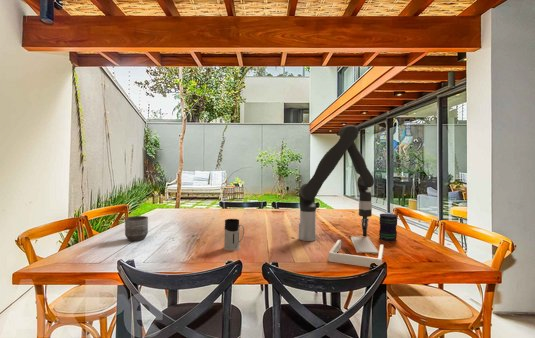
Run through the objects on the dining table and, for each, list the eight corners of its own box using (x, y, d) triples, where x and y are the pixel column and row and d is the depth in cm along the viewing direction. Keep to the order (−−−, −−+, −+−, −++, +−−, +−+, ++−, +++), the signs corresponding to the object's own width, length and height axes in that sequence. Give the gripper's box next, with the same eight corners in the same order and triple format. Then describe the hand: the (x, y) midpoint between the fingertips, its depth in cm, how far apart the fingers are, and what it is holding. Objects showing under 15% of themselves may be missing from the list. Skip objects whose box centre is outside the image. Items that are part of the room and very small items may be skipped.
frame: (328, 261, 138) (328, 252, 138) (338, 247, 161) (338, 239, 161) (381, 268, 129) (381, 259, 129) (383, 252, 152) (383, 244, 152)
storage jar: (393, 237, 183) (394, 213, 182) (399, 242, 173) (399, 216, 172) (377, 237, 184) (377, 213, 183) (381, 241, 174) (382, 216, 173)
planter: (120, 241, 168) (120, 218, 168) (136, 236, 180) (136, 215, 179) (136, 243, 164) (136, 220, 164) (152, 238, 175) (152, 216, 175)
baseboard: (354, 253, 151) (378, 255, 149) (354, 248, 151) (378, 249, 149) (348, 238, 182) (368, 239, 179) (348, 233, 181) (368, 234, 179)
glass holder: (233, 245, 163) (233, 217, 163) (250, 250, 153) (250, 221, 153) (220, 248, 157) (220, 220, 157) (236, 254, 147) (237, 224, 146)
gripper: (359, 206, 188) (359, 233, 189) (357, 209, 176) (357, 238, 177) (372, 207, 186) (371, 234, 186) (370, 210, 173) (370, 239, 174)
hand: (364, 236), depth 181 cm, fingers closed
